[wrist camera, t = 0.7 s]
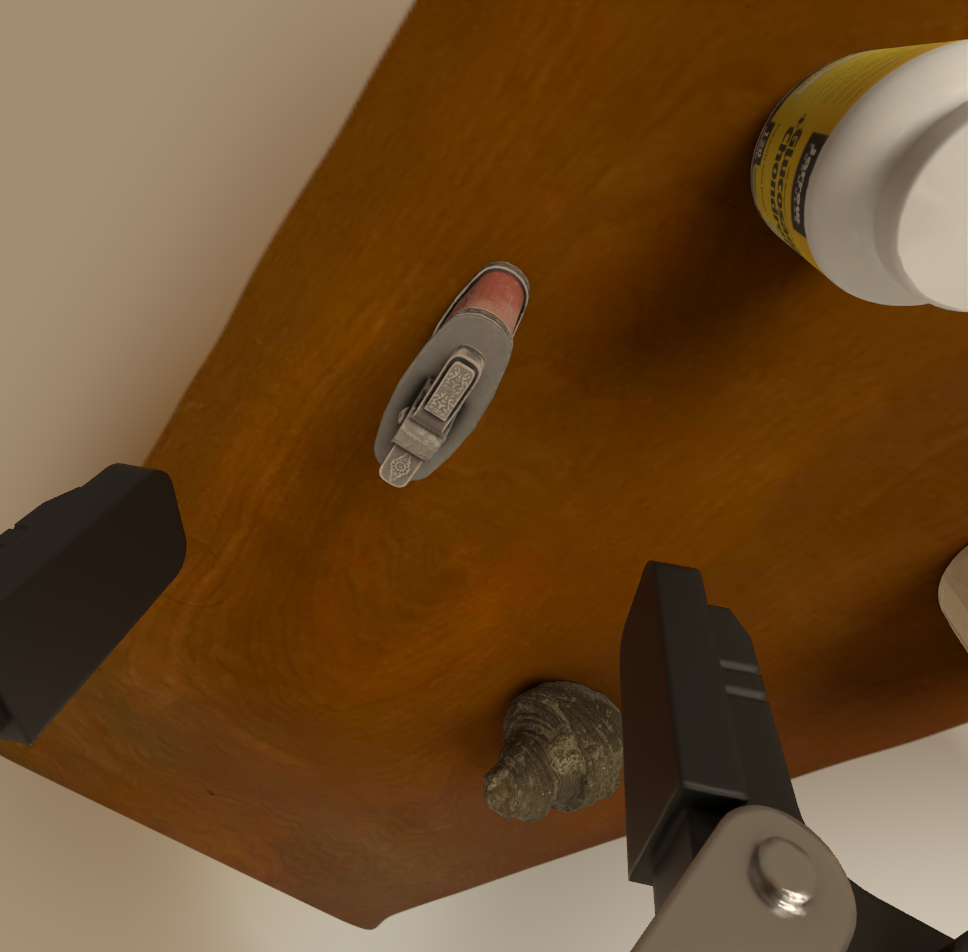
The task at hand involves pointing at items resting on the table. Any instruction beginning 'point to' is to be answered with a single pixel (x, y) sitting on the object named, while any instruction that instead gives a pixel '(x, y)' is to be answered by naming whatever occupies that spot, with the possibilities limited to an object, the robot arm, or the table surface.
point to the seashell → (556, 752)
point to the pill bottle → (875, 173)
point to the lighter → (452, 376)
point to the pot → (956, 595)
